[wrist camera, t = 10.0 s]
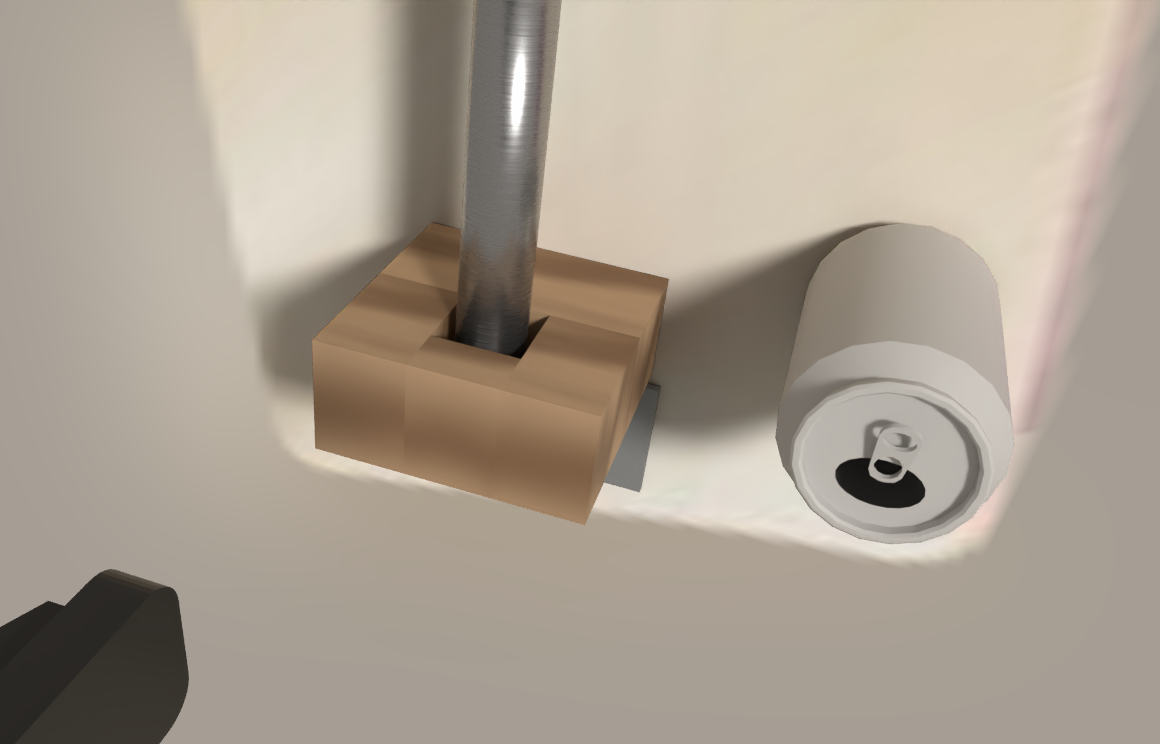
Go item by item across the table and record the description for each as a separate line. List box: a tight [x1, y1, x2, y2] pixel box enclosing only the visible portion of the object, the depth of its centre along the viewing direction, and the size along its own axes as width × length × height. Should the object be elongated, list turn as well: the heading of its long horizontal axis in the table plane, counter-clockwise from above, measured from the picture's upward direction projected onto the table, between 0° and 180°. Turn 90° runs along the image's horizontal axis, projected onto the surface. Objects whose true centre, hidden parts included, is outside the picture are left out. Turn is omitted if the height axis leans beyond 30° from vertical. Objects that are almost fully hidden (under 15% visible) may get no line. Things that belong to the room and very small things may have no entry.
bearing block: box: [312, 223, 669, 525], centre depth 43 cm, size 5×11×11 cm, turn 83°
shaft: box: [455, 0, 562, 359], centre depth 37 cm, size 20×4×4 cm, turn 173°
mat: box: [604, 384, 660, 492], centre depth 51 cm, size 6×12×1 cm, turn 83°
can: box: [775, 223, 1014, 544], centre depth 38 cm, size 8×8×12 cm
